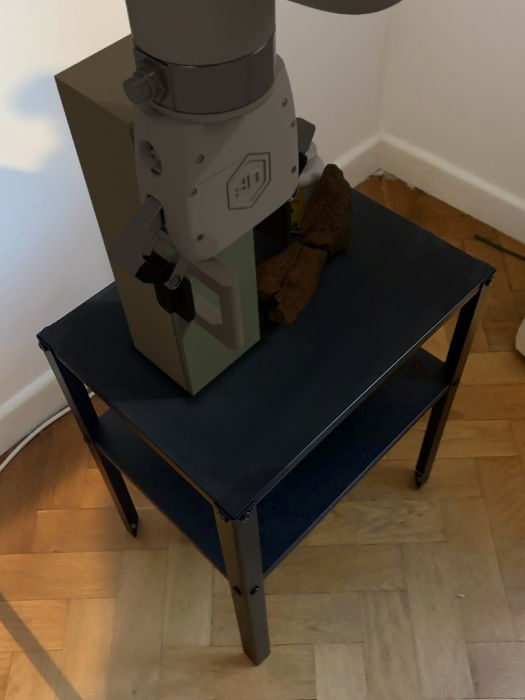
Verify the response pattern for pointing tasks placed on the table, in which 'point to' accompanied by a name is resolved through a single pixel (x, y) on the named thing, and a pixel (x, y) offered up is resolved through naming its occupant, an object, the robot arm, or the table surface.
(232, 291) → the cabinet door
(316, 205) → the sculpture
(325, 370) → the table surface
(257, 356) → the table surface
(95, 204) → the cabinet
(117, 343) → the table surface
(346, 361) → the table surface
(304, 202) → the supplement bottle
